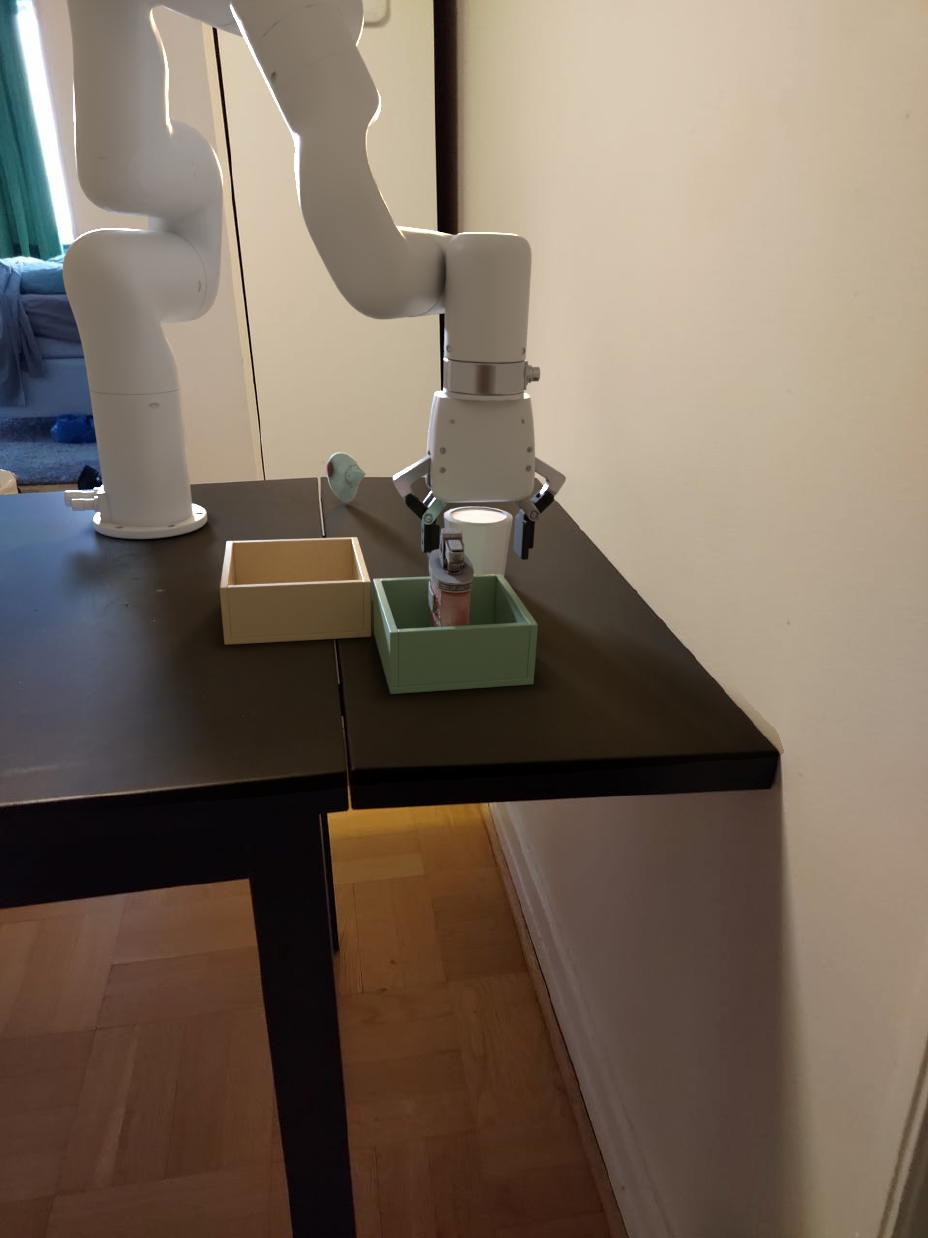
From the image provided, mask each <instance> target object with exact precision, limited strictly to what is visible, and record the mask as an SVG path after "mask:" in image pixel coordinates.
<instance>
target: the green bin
mask: <svg viewBox="0 0 928 1238" xmlns="http://www.w3.org/2000/svg"><path fill="white" fill-rule="evenodd" d="M372 580H373V581H372V583H373V585H372V587H373V636H374V639H375V643H376V646H377V650H378V653H379V657H380V661H381V665H382V668H383V672H384V676H385V679H386V683H387V686H388V687H387V688H388V690H389V691H388V692H389V694H390V695H398V694H412V693H413V694H414V693H427V692H442V691H456V690H458V691H459V690H470V689H471V690H472V689H485V688H500V687H513V686H514V687H515V686H529V685H534V682H535V678H534V677H535V670H536V669H535V668H536V657H537V656H536V655H537V643H538V629H539V628H538V627H539V624H538V623H537V621H536V619H534V617H533V616H532V614H531V613H530V611H529V610H528V609H527V608H526V606H525V604H524V602H522V600H521V599H520V597H519V596H518V594H517V593H516V592H515V590H514V589H513V588H512V586H511V585H510V583H509V581H508V580H507V579H506V578H505V575H504V576H503V575H502V574H478V575H474V579H473V588H472V589H471V591H470V618H469V625H467V626H449V627H430V618H431V608H430V606H429V581H430V580H431V576H430V575H429V576H413V577H412V576H411V577H410V576H409V577H383V578H373V579H372ZM429 627H430V628H429Z"/></svg>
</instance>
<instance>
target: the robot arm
mask: <svg viewBox="0 0 928 1238" xmlns="http://www.w3.org/2000/svg"><path fill="white" fill-rule="evenodd" d="M363 3H364V2H363V0H66V5H67V11H68V12H67V13H68V17H69V18H68V19H69V26H70V33H71V43H72V89H73V90H72V91H73V122H74V127H73V128H74V152H75V155H74V156H75V165H76V166H75V168H76V174H77V179H78V183H79V185H80V188H81V191H82V192H83V194H84V196H85V197H86V198H87V200H89V201H90V203H92V204H93V205H94V206H96V207H97V208H99V209H102V210H103V211H105V212H109V213H113V214H116V215H123V216H131V217H143V218H144V217H146V218H147V230H146V229H145V230H144V229H132V228H100V229H95V230H91V231H88V232H85V233H84V234H81V235H80V236H78V237H77V238H75V240H73V241H72V242H71V243H70V245H69V247H68V248H67V250H66V252H65V254H64V257H63V262H62V281H63V285H64V290H65V294H66V296H67V299H68V302H69V303H68V304H69V306H70V309H71V311H72V314H73V317H74V320H75V323H76V327H77V331H78V334H79V338H80V342H81V347H82V352H83V357H84V363H85V370H86V377H87V384H88V390H89V395H90V396H89V397H90V403H91V404H90V405H91V410H92V416H93V425H94V432H95V433H94V434H95V439H96V446H97V453H98V454H97V455H98V462H99V468H100V475H101V482H102V485H101V486H100V487H94V488H93V491H92V490H91V491H89V490H88V491H83V490H65V491H64V494H63V499H64V505H65V508H69V509H70V508H71V510H72V511H73V512H85V511H94V512H95V515H94V516H93V517H92V524H93V529H94V530H95V531H96V532H97V533H99V534H101V535H103V536H107V537H109V538H117V539H125V540H154V539H155V540H156V539H163V538H164V539H165V538H171V537H176V536H177V537H178V536H180V535H185V534H189V533H192V532H194V531H197V530H199V529H201V528H202V527H204V525H206V524H207V522H208V514H207V512H208V511H207V510H206V509H205V508H204V507H202V506H201V505H198V504H196V503H193V498H192V491H191V489H192V488H191V480H190V479H191V478H190V468H189V467H190V466H189V457H188V446H187V437H186V428H185V427H186V426H185V417H184V416H185V415H184V405H183V396H182V386H181V376H180V369H179V364H178V361H177V357H176V354H175V351H174V350H173V348H172V345H171V344H170V341H169V339H168V337H167V335H166V333H165V331H164V329H163V326H162V325H166V324H176V323H177V324H178V323H185V322H192V321H194V320H197V319H200V318H202V317H204V316H205V315H206V314H207V313H208V312H209V311H210V310H211V309H212V307H213V305H214V304H215V301H216V299H217V296H218V293H219V288H220V279H221V266H222V243H223V221H224V219H223V216H224V180H223V172H222V168H221V165H220V162H219V158H218V155H217V153H216V152H215V150H214V148H213V146H212V144H211V143H210V142H209V140H208V138H206V137H205V136H204V134H203V133H201V132H200V131H199V130H198V129H196V128H195V127H194V126H191V125H190V124H187V123H185V122H182V121H179V120H175V119H171V118H170V114H169V83H170V81H169V80H170V79H169V78H170V77H169V75H170V74H169V67H168V65H169V64H168V60H167V59H168V58H167V55H166V50H165V47H164V43H163V39H162V36H161V34H160V31H159V29H158V26H157V24H156V22H155V19H154V17H153V10H154V8H156V7H163V8H165V9H167V10H170V11H172V12H174V13H176V14H178V15H182V16H184V17H186V18H190V19H192V20H194V21H197V22H200V23H203V24H205V25H207V26H210V27H212V28H215V29H218V30H220V31H224V32H226V33H229V34H232V35H236V36H238V37H240V38H243V39H244V40H245V42H246V44H247V45H248V48H249V51H250V52H251V55H252V56H253V58H254V60H255V62H256V65H257V67H258V68H259V70H260V72H261V74H262V77H263V78H264V81H265V83H266V84H267V87H268V89H269V91H270V93H271V95H272V98H273V99H274V101H275V104H276V105H277V108H278V110H279V111H280V113H281V116H282V118H283V120H284V122H285V123H286V126H287V128H288V130H289V132H290V135H291V137H292V139H293V142H294V147H295V153H294V172H295V182H296V191H297V197H298V203H299V209H300V212H301V215H302V216H301V217H302V218H303V222H304V224H305V228H306V229H307V232H308V234H309V236H310V239H311V241H312V242H313V245H314V246H315V249H316V251H317V253H318V255H319V256H320V259H321V261H322V263H323V265H324V267H325V270H326V271H327V272H328V274H329V277H330V279H331V280H332V282H333V284H334V285H335V287H336V288H337V290H338V292H339V293H340V294H341V296H342V297H343V298H344V300H345V301H346V302H347V303H348V304H349V305H350V306H351V307H352V308H353V309H354V310H356V311H357V312H358V313H360V314H362V315H364V316H365V317H367V318H370V319H371V318H372V319H374V320H394V319H395V320H396V319H397V320H398V319H403V318H404V319H405V318H417V317H425V316H427V317H428V316H434V315H442V314H444V341H443V342H444V343H443V351H444V352H443V387H442V390H440V391H439V390H438V391H435V392H434V394H433V398H432V403H431V408H430V414H429V421H428V430H427V438H426V439H427V441H426V454H425V456H423V457H422V458H420V459H419V460H417V461H415V462H414V463H412V464H410V465H409V466H407V467H406V468H404V469H402V470H401V471H399V472H398V473H396V474H394V475H393V476H392V478H391V482H392V484H393V485H394V487H395V489H396V491H397V492H398V494H399V495H400V497H401V499H402V500H403V502H404V503H405V505H406V506H407V507H408V509H410V510H411V511H412V512H413V513H414V514H415V515H416V516H417V517H418V518H419V519H420V520H421V529H420V530H421V536H420V537H421V538H420V539H421V540H420V543H421V544H420V547H421V552H422V553H423V554H426V555H427V558H429V557H430V554H431V552H432V551H433V550H436V549H440V536H441V527H440V524H439V522H438V521H437V520H438V519H437V518H438V516H439V515H440V514H441V512H442V511H443V510H444V508H445V507H446V506H447V504H448V503H451V504H454V503H459V504H461V503H462V504H463V503H497V502H498V503H501V502H515V503H516V505H517V506H518V508H519V512H517V513H516V515H515V516H514V517H515V518H514V533H513V534H514V535H513V551H514V553H515V554H516V555H517V556H518V558H519V559H521V561H524V560H529V553H530V550H532V549H533V548H534V545H535V544H534V543H535V530H536V529H535V527H536V521H538V520H539V519H540V518H541V514H542V513H543V512H544V511H546V510H547V508H548V507H550V505H552V503H553V502H554V501H555V497H556V495H558V493H559V492H560V491H561V489H562V487H563V486H564V484H565V483H566V480H567V478H566V476H565V474H563V473H562V472H560V471H559V470H557V469H556V468H554V467H553V466H551V465H550V464H548V463H546V462H545V461H544V460H542V459H540V458H538V457H537V456H536V442H535V439H536V438H535V426H534V415H533V414H534V413H533V405H532V399H531V395H530V394H528V393H526V392H525V391H527V386H528V385H529V384H531V383H532V382H539V381H540V379H541V368H540V366H532V365H531V364H530V365H529V361H528V360H527V347H528V346H527V345H528V329H529V314H530V313H529V312H530V294H531V277H532V262H533V261H532V256H533V255H532V253H533V252H532V248H531V245H530V243H529V241H528V240H527V239H526V237H524V236H522V235H519V234H515V233H505V232H504V233H503V232H485V231H484V232H483V231H482V232H481V231H480V232H475V231H474V232H460V233H457V234H450V233H445V232H440V231H434V230H430V229H422V228H414V227H408V226H398V225H397V223H396V221H395V220H394V218H393V216H392V213H391V212H390V210H389V208H388V205H387V203H386V202H385V199H384V197H383V195H382V193H381V190H380V188H379V187H378V184H377V182H376V178H375V176H374V174H373V171H372V168H371V165H370V161H369V156H368V148H367V135H368V131H369V130H370V129H371V128H372V127H373V126H374V124H375V123H376V121H377V120H378V117H379V115H380V113H381V106H382V104H381V101H382V100H381V95H380V93H379V89H378V88H377V86H376V84H375V82H374V80H373V78H372V76H371V73H370V71H369V69H368V66H367V65H366V63H365V60H364V58H363V57H362V55H361V53H360V50H359V49H358V44H359V40H360V39H361V36H362V33H363V27H364V19H365V18H364V17H365V11H364V4H363ZM536 474H538V475H539V476H541V477H543V479H545V482H544V484H543V487H542V488H541V489H539V490H538V491H537V492H536V493H535V494H534V495H532V494H533V492H534V487H535V478H536ZM424 476H425V477H424ZM421 478H424V479H425V486H426V488H428V489H429V490H430V492H429V493H428V495H426V497H425V498H424V499H423V500H422V499H421V498H419V496H417V494H416V493H415V492H414V490H413V489H412V485H413V483H415V482H417V481H418V480H420V479H421ZM531 495H532V497H531ZM530 497H531V498H530Z"/></svg>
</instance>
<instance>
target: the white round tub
mask: <svg viewBox="0 0 928 1238" xmlns="http://www.w3.org/2000/svg"><path fill="white" fill-rule="evenodd" d="M513 520H514V519H513V515H512V514H511V513H510V512H508V511H505V510H502V509H499V508H494V507H488V506H460V507H455V508H450V509H449V510H447V511H445V512H444V513H443V521H444V522H443V524H444V528H454V529H456V531H457V532H462V540H463V543H464V554H465V555H466V556H467V557H468V558H469V560H470V562H471V563H472V565H473V570H474V575H478V574H502V575H503V576H504V577H505V573H506V567H507V561H508V559H507V558H508V554H509V546H510V542H511V541H510V540H511V533H512V528H513Z"/></svg>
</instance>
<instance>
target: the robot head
mask: <svg viewBox="0 0 928 1238" xmlns="http://www.w3.org/2000/svg"><path fill="white" fill-rule="evenodd" d="M325 472H326V477H327V482H328V484H329V487H330V489H331V492H332V493H333V494H334V496H335V497H336V498H337V499H338V500H339V501H340V502H341V503H343V504H348V503H351V502H353V501H354V499H355V497H356V496H357V493H358V489H359V486H360V482H361V481H362V480H363V478H364V477H365V476H367V475H366V474H367V473H366V472H365V471H364V470H363V469H362V468H361V467H360V465H359V463H358V461H357V460H356V459H355V458H354V457H353V456H351V455H350V454H349V453H347V452H343V451H341V452H340V451H339V452H335V453H333V454H332V455H331V456H330V457H329V458H328V460H327V463H326V471H325Z"/></svg>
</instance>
